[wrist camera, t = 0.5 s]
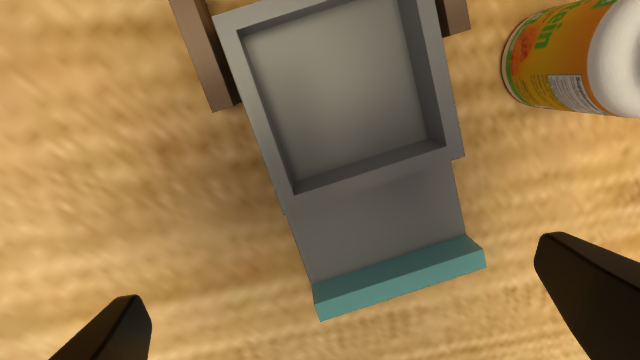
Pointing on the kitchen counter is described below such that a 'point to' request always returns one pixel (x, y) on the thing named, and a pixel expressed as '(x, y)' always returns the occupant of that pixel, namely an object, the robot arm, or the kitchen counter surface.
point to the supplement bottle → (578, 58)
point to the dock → (212, 60)
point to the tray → (356, 141)
